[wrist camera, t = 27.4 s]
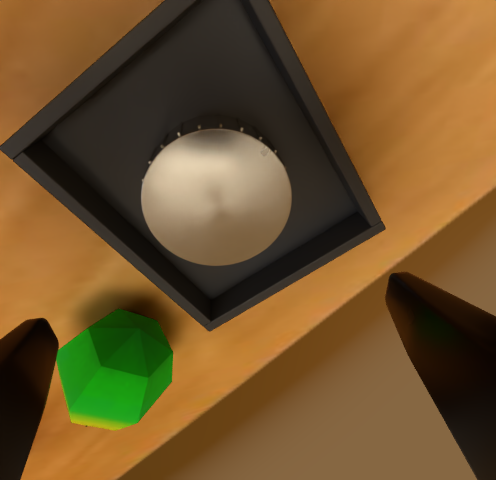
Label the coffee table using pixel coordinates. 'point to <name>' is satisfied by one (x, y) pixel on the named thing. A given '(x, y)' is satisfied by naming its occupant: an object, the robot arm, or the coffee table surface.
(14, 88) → the coffee table surface
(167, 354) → the apple
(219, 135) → the lid
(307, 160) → the tray
